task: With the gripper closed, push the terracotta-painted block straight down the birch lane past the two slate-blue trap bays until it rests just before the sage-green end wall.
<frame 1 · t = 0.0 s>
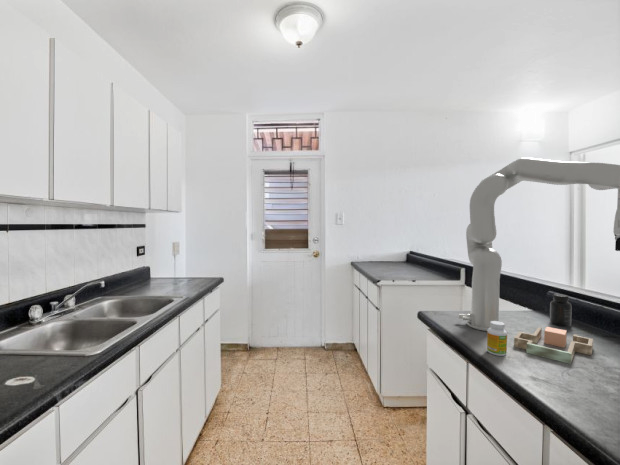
supplement bottle 2: (496, 353, 100), on the worktop
supplement bottle: (560, 324, 126), on the worktop
terracotta block: (555, 343, 108), on the worktop
trap lane: (552, 347, 104), on the worktop
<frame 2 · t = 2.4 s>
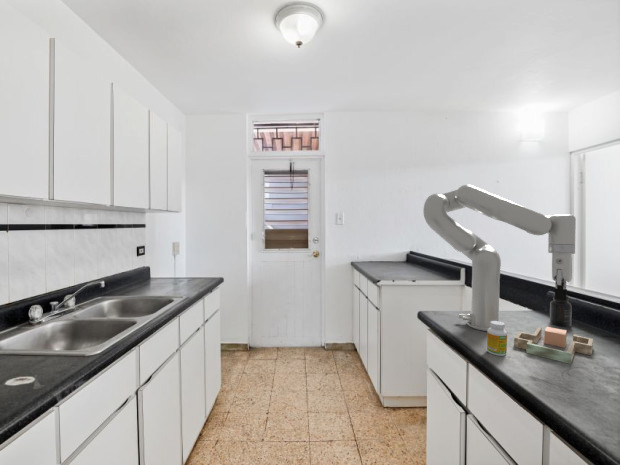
hand: (560, 299, 112), 14 cm above the worktop, fingers closed
nothing on the worktop moved.
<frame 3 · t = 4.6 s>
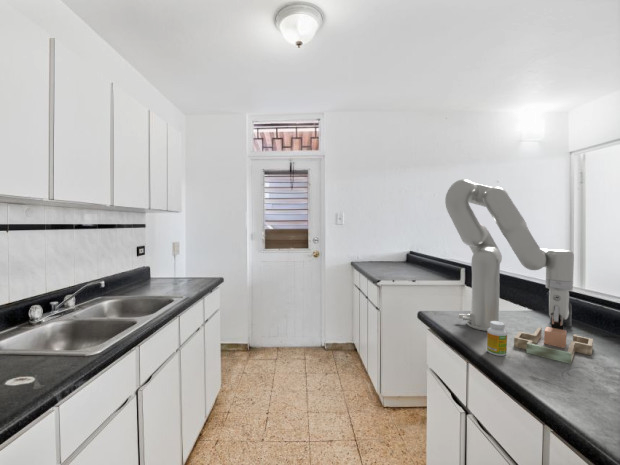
hand: (557, 335, 111), 1 cm above the worktop, fingers closed
terracotta block: (555, 343, 107), on the worktop, touching gripper
everything else where it was.
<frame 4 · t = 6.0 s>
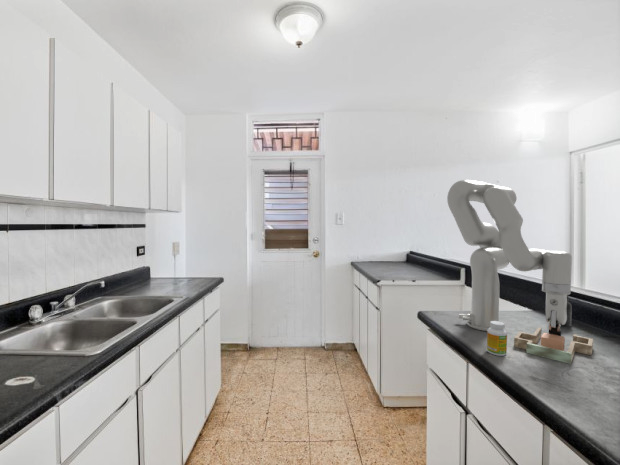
hand: (554, 341, 105), 1 cm above the worktop, fingers closed
terracotta block: (552, 350, 101), on the worktop, touching gripper
everything else where it was.
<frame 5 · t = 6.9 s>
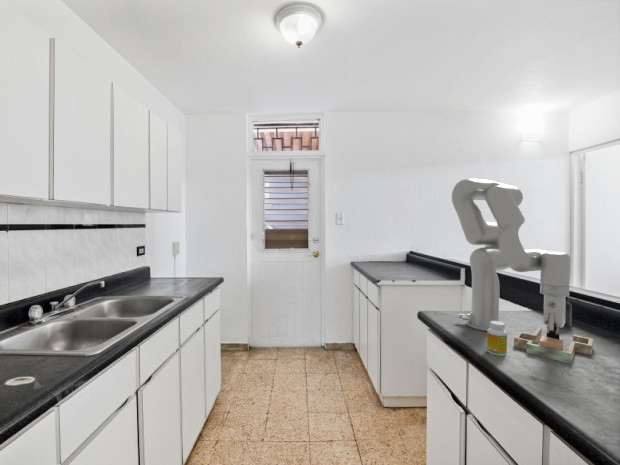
hand: (552, 344, 102), 1 cm above the worktop, fingers closed
terracotta block: (550, 354, 99), on the worktop
everything else where it was.
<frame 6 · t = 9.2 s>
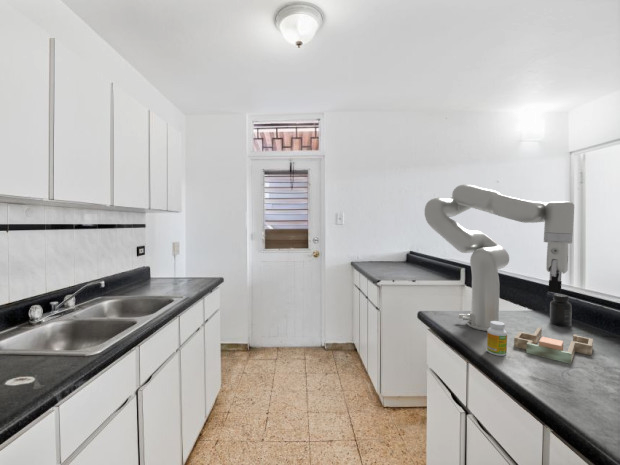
hand: (554, 292, 105), 18 cm above the worktop, fingers closed
nothing on the worktop moved.
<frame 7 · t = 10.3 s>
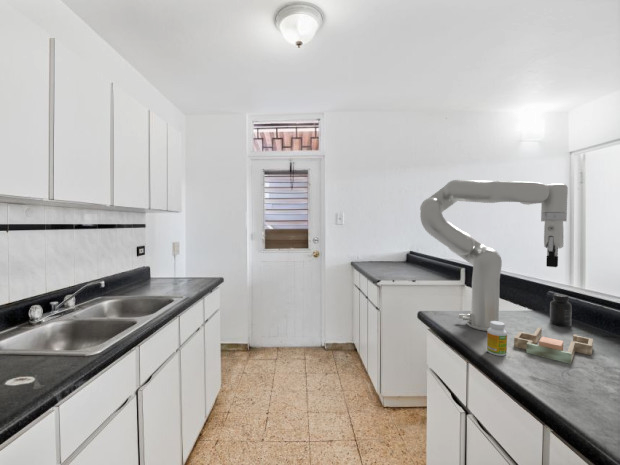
hand: (552, 266, 116), 25 cm above the worktop, fingers closed
nothing on the worktop moved.
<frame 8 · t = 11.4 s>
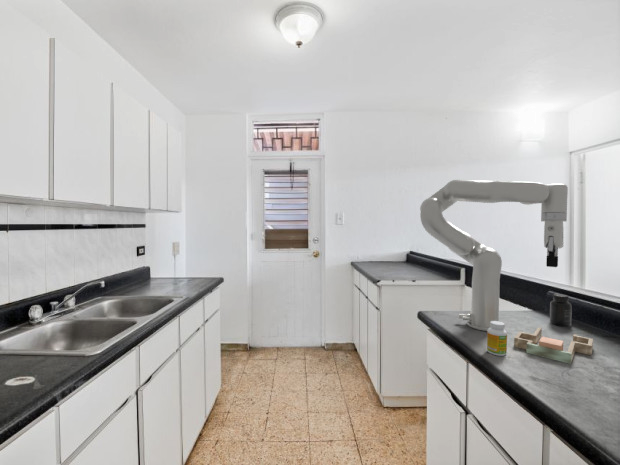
hand: (552, 266, 116), 25 cm above the worktop, fingers closed
nothing on the worktop moved.
at the end: terracotta block 1.0 cm from the target spot, on the worktop; terracotta block tilted 0° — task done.
